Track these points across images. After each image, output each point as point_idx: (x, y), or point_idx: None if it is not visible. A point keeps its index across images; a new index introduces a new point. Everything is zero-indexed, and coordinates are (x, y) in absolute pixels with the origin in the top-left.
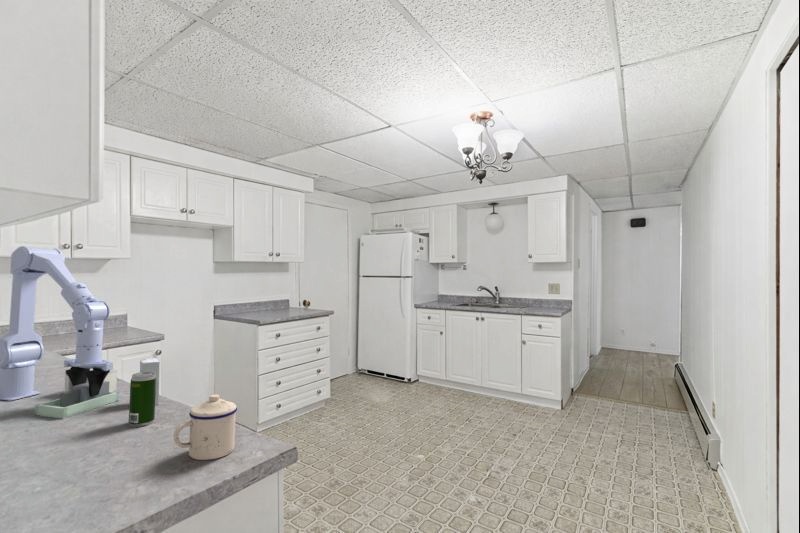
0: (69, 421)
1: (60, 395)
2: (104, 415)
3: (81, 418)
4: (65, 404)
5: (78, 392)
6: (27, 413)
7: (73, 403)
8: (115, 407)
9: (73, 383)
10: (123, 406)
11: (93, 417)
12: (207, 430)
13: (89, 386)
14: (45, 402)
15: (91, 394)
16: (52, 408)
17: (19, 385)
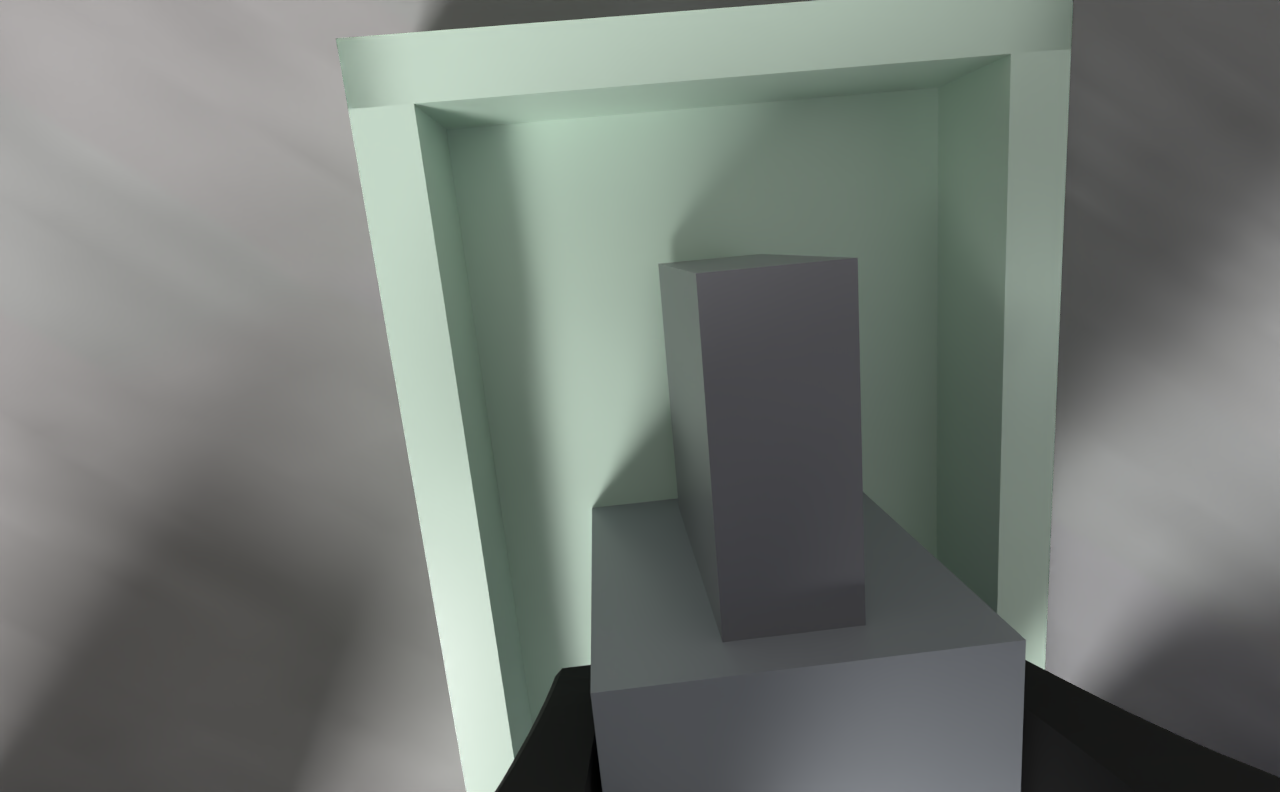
0: (179, 41)
1: (831, 258)
2: (16, 427)
3: (170, 207)
4: (667, 281)
5: (708, 569)
6: (1143, 52)
7: (677, 419)
8: (265, 703)
9: (1111, 740)
10: (212, 770)
11: (59, 307)
12: None
13: (565, 787)
14: (1059, 170)
15: (555, 688)
16: (635, 25)
17: None
